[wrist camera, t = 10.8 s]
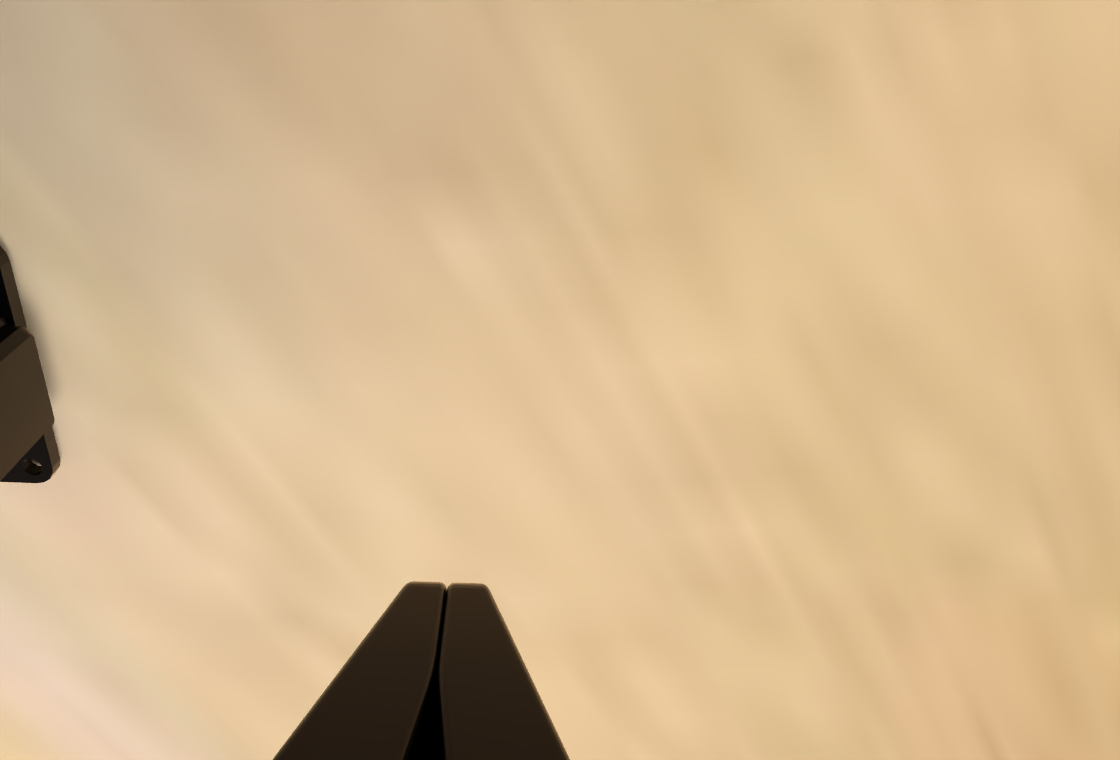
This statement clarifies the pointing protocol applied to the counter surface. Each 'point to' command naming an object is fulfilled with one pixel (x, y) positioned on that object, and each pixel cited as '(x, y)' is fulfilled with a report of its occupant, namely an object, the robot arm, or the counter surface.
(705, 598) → the counter surface
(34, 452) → the robot arm
